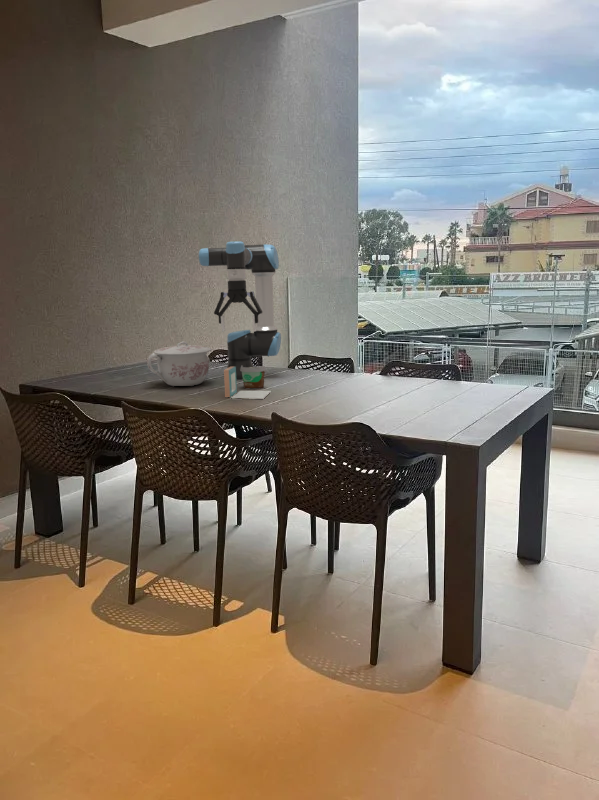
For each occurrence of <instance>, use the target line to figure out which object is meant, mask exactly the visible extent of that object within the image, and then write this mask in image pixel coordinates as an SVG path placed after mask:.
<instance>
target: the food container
mask: <svg viewBox="0 0 599 800" xmlns="http://www.w3.org/2000/svg"><path fill="white" fill-rule="evenodd" d="M240 371H242V377H243V379H242V383H243V388H244V387H245V388H244V389H246V388H260V389H263V388H264V387H265V372H266V371H267V369H266V366H265V365H264V366H263V365H262V366H258V367H256V366H253V367H243V366H241V369H240Z"/></svg>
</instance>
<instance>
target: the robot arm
mask: <svg viewBox="0 0 599 800" xmlns="http://www.w3.org/2000/svg"><path fill="white" fill-rule="evenodd" d="M198 260H199V261H198V262H199V264H200V266H202V267H217V266H218V267H223V266H226V272H227V273H226V274H227V277H226V278H227V279H228V281H227V292H226V291H221V292H220V296H219V299H218V303H217V304H216V307H215V310H214V311H213V314H214V315H216V316H217V317H218V324H220V327H221V329H220V330H221V333H222V332H223V333H224V332H226V325H225V324H226V322H225V315H223V314H224V313H225V312H226V311H227V310H228V308H229V307H230V306H231V304H232V303H233V304H234V303H235V304H236V303H237V304H238V303H239V304H240V303H243V304H244V305H245V306H246V307H247V308H248V309H249V311H250V312H251V313H252V314H253V315H252V330H250V329H243V330H236V331H231V332H229V333H228V334H227V340H226V343H227V360H228V361H227V366H226V369H227V368H229V367H230V366H235V367H236V380H243V377H242V371H240V369H241V366H243V367H254V364H253V362H252V357H274V356H278V354H279V352H280V350H281V344H282V343H281V342H282V334H281V333H280V332H278V328H277V327H276V325H275V317H274V316H275V315H274V312H275V311H274V284H273V283H274V282H273V280H274V279H273V276H274V275H275V274H276V270H277V269H279V264H280V263H279V262H280V261H279V255H278V251H277V248H276V246H274V245H273V244H266V243H265V244H264V243H263V244H245V242H243V241H227V242H226V244H225V247H204V248H203V247H202V248H201V249H199V251H198ZM246 270H247V271H248V270H250V271H251V275H253V276H254V288H255V292H254V291H249V292H248V291H247V282H246V278H247V276H246ZM247 296H248V297H249V298H250V299H251V301H252V304H253V305H254V306H253V305H252V304H251V303H250V302H249V300H248V299H247ZM226 297H228V300H227V301H226V304H225V305H224V306H223V307H222V305H223V303H224V300H225V299H226ZM221 307H222V308H221ZM251 331H252V332H251Z"/></svg>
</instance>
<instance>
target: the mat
mask: <svg viewBox="0 0 599 800" xmlns="http://www.w3.org/2000/svg"><path fill="white" fill-rule="evenodd" d="M269 393H270V394H271V393H272V390H239V391H237V394H235V395H234V396H233V397H231V398H249V399H263V400H265V399H266V398H267V397H268V396H269V395H270V394H269ZM268 394H269V395H268ZM267 395H268V396H267ZM266 396H267V397H266ZM265 397H266V398H265ZM231 398H230V399H231ZM264 398H265V399H264Z"/></svg>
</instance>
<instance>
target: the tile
mask: <svg viewBox="0 0 599 800" xmlns="http://www.w3.org/2000/svg"><path fill="white" fill-rule="evenodd" d="M223 379H224V381H223V382H224V398H225V397H231V396H233V395H234V394H235V393H238V390H237V389H238V384H237V382H238V381H237V379H236V367H235V366H230V367H229V368H227V367H226V368H225V369H224V370H223Z"/></svg>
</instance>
